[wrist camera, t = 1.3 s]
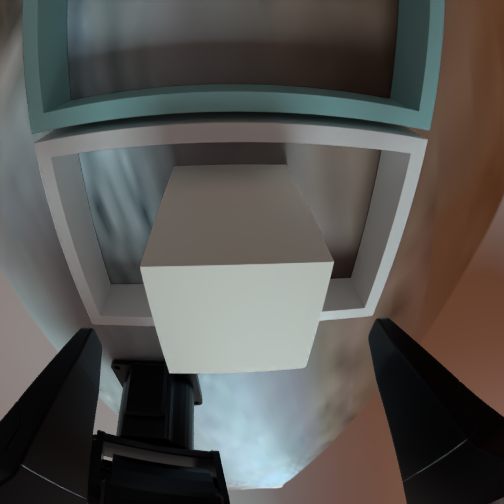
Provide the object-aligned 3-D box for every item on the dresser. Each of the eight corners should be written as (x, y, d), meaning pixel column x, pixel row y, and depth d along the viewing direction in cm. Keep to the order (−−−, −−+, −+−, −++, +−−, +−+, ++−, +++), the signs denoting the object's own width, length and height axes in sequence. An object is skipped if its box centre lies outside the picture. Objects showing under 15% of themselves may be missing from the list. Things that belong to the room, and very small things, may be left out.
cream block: (278, 254, 17) (305, 367, 11) (182, 257, 16) (169, 373, 11) (287, 164, 14) (333, 261, 8) (174, 166, 13) (139, 267, 8)
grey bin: (358, 285, 19) (372, 315, 17) (103, 292, 17) (92, 324, 15) (398, 123, 13) (427, 139, 11) (61, 125, 11) (33, 143, 9)
